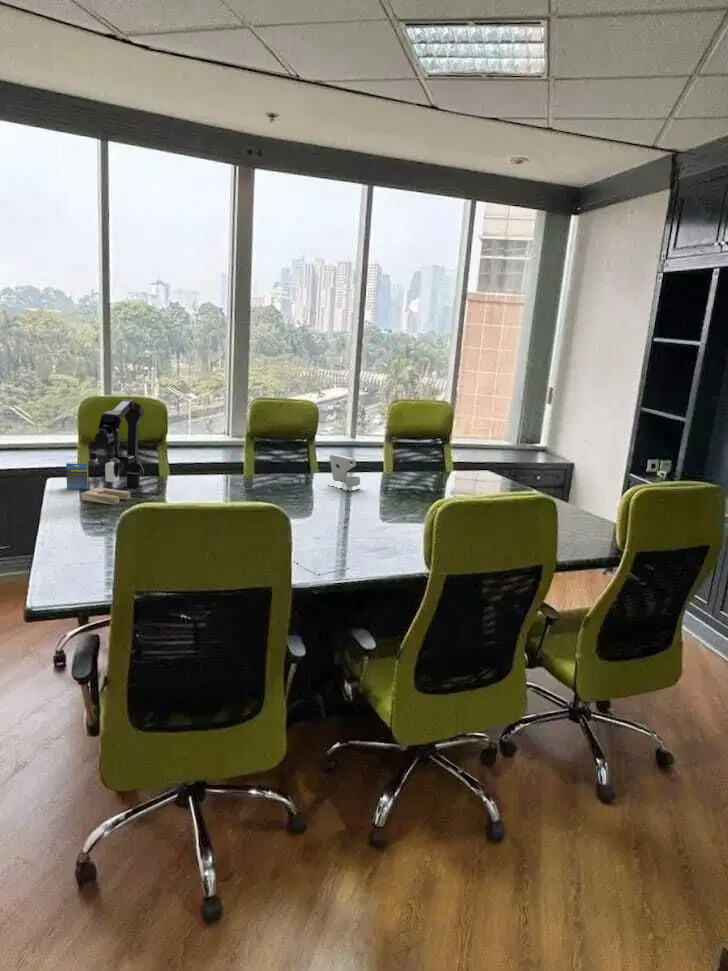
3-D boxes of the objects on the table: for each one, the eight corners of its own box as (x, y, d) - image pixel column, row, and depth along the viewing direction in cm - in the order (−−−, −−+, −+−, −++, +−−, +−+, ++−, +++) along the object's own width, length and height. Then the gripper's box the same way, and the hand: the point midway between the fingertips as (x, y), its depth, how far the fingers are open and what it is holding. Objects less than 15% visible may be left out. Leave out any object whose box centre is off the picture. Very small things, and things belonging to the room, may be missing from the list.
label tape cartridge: (88, 487, 283) (88, 461, 280) (87, 489, 280) (87, 463, 277) (67, 487, 280) (67, 461, 277) (66, 489, 277) (65, 463, 274)
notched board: (98, 493, 274) (97, 487, 273) (130, 498, 272) (130, 491, 271) (81, 500, 263) (81, 493, 262) (115, 504, 260) (115, 498, 259)
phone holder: (361, 489, 326) (364, 456, 322) (350, 491, 318) (353, 458, 314) (336, 482, 336) (338, 451, 331) (325, 485, 327) (327, 453, 323)
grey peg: (110, 479, 267) (110, 461, 265) (119, 480, 266) (118, 462, 264) (105, 481, 263) (105, 463, 261) (113, 482, 262) (113, 464, 261)
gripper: (80, 442, 254) (81, 477, 258) (121, 447, 251) (121, 483, 255) (96, 438, 265) (97, 472, 269) (135, 443, 262) (135, 477, 266)
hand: (112, 476), depth 264 cm, fingers closed on grey peg, 4 cm apart
